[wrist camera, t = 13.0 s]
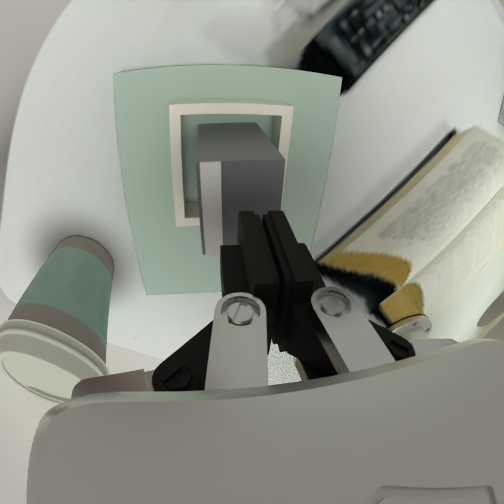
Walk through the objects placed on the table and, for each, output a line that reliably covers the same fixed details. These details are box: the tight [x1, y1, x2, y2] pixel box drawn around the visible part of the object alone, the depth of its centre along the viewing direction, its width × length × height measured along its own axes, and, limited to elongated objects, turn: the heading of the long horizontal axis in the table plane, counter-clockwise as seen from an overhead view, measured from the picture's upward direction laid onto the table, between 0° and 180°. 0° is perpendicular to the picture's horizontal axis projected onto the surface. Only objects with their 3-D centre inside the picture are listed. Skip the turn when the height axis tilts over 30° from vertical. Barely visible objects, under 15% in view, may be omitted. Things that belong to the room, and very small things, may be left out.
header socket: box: [169, 99, 294, 227], centre depth 17 cm, size 8×7×2 cm
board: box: [113, 65, 342, 295], centre depth 20 cm, size 18×14×1 cm
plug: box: [196, 122, 285, 257], centre depth 15 cm, size 4×4×7 cm
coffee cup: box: [0, 236, 114, 405], centre depth 17 cm, size 8×8×12 cm
